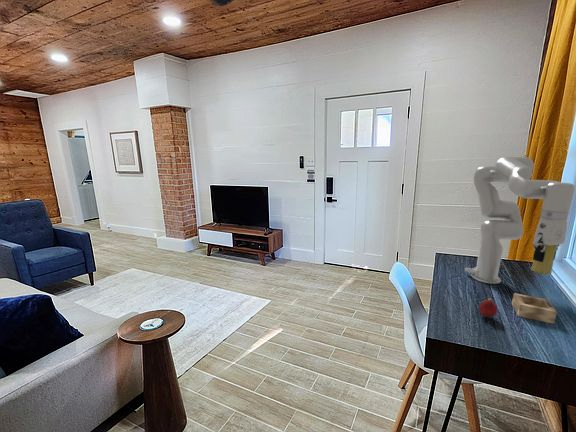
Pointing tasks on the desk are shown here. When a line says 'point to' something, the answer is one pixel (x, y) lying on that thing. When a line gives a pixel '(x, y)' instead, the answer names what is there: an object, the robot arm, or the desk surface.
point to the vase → (545, 261)
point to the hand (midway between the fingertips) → (543, 259)
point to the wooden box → (534, 308)
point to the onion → (488, 308)
